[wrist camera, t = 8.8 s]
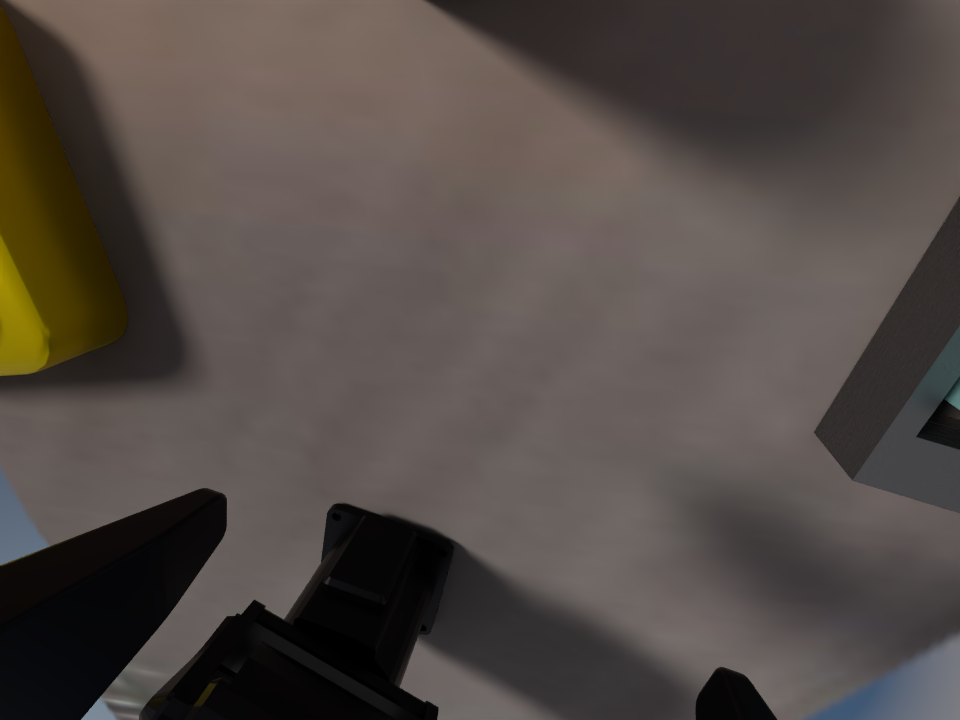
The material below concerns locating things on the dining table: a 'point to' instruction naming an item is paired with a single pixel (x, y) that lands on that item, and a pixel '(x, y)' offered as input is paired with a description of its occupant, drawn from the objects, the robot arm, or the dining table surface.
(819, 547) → the dining table surface
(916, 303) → the grey slotted base block
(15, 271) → the element tile
